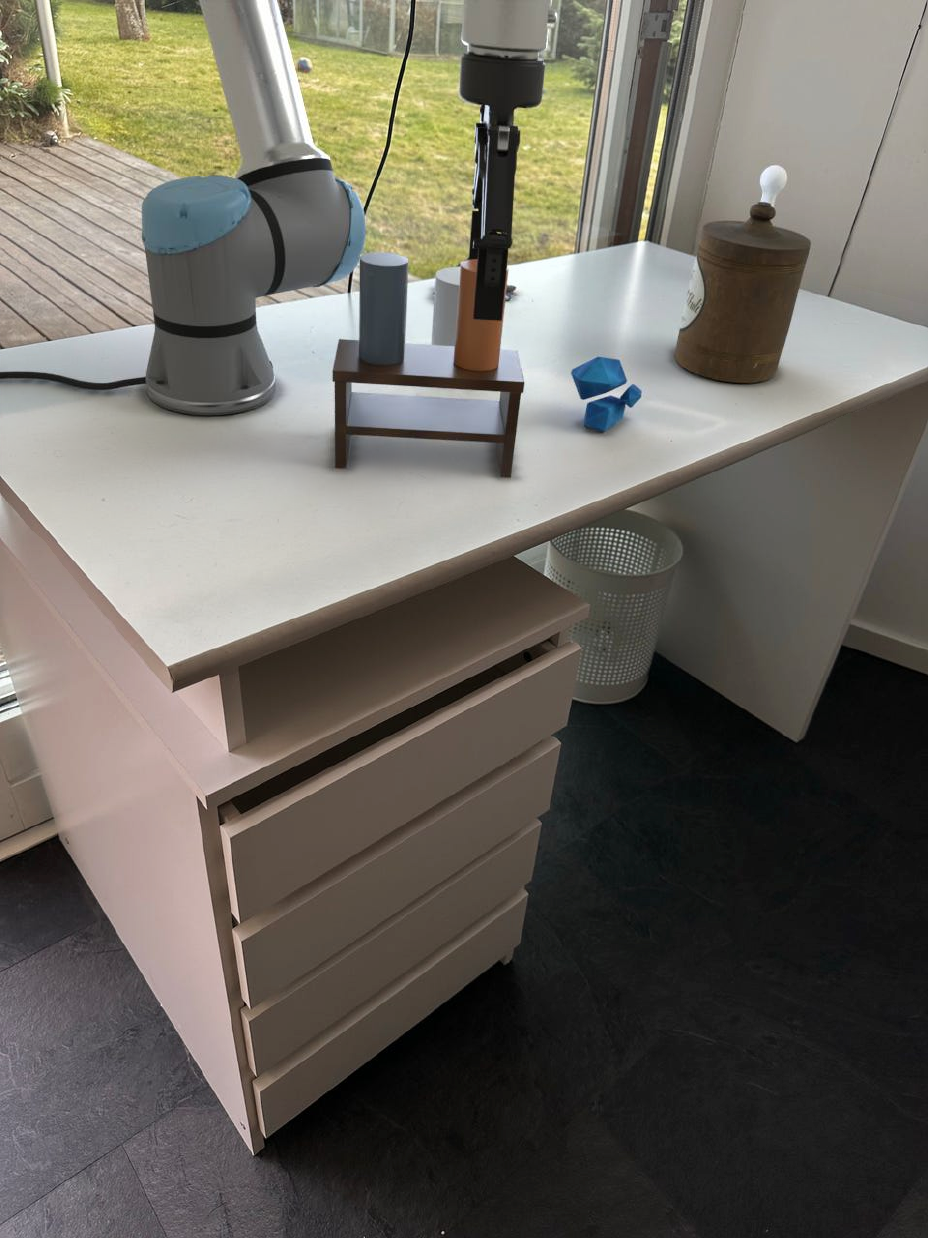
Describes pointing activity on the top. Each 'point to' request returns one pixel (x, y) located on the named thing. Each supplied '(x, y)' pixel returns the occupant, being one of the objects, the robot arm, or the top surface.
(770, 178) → the white light bulb
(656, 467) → the top surface
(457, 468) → the top surface
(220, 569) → the top surface
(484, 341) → the copper tin
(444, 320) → the cup
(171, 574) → the top surface
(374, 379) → the desk shelf
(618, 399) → the crystal
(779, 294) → the wooden container
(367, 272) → the slate tin
